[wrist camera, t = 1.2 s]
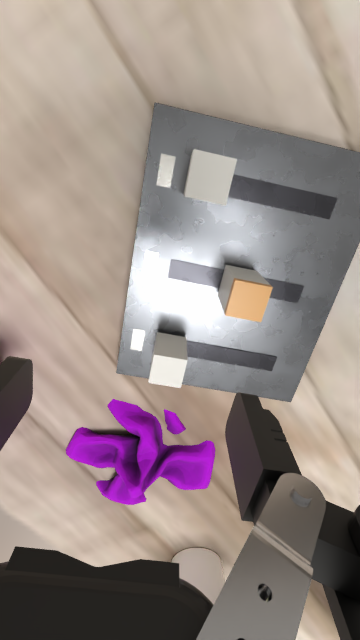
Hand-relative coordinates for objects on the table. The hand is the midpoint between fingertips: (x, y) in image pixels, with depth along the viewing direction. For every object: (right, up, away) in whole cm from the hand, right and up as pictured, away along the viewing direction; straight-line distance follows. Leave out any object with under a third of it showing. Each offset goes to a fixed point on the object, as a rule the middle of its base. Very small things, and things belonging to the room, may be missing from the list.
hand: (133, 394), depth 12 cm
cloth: (-4, -14, +29) cm, 32 cm away
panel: (+7, +7, +19) cm, 22 cm away
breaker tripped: (+7, +6, +17) cm, 19 cm away
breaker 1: (+1, 0, +20) cm, 20 cm away
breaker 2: (+4, +14, +13) cm, 20 cm away
